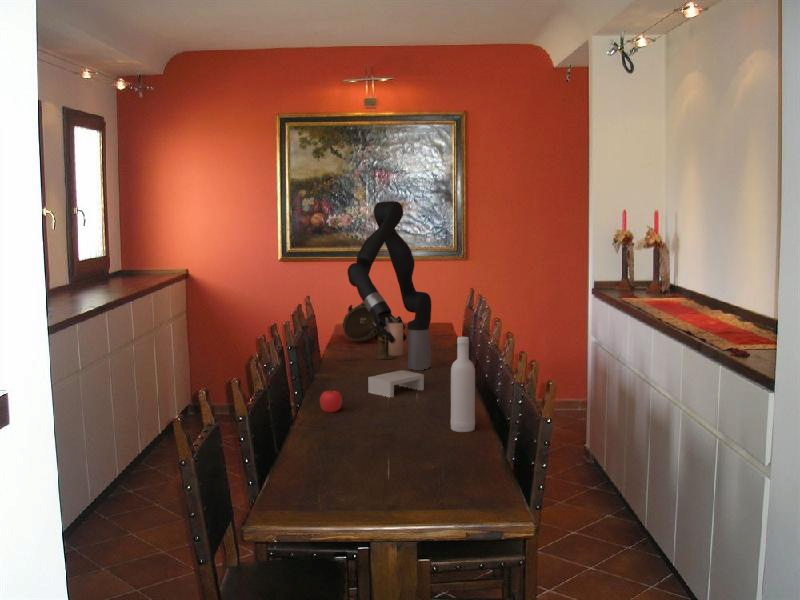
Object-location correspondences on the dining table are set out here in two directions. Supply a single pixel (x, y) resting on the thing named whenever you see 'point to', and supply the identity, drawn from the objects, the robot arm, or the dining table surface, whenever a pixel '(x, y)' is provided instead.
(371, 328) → the basket
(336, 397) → the apple
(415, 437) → the dining table surface
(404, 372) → the white channel block
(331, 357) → the dining table surface
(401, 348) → the tan rounded-top cylinder
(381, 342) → the brown carved figurine
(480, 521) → the dining table surface
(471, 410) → the bottle
